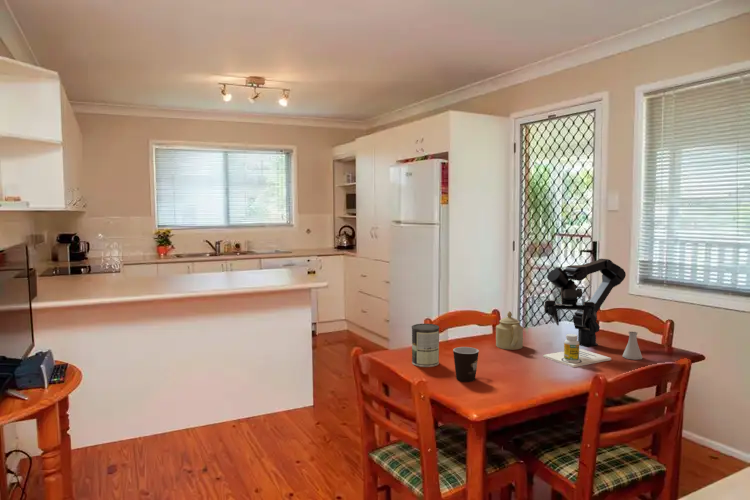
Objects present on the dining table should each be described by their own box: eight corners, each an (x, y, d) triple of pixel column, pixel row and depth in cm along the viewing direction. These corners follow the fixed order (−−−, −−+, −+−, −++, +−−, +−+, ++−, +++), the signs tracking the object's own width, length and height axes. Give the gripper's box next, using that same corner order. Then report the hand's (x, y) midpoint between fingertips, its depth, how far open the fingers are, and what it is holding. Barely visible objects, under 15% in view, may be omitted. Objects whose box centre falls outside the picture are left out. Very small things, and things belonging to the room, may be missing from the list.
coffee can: (406, 363, 197) (406, 326, 196) (423, 357, 204) (423, 322, 203) (427, 369, 190) (427, 331, 189) (444, 363, 197) (444, 326, 196)
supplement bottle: (573, 357, 200) (574, 332, 199) (582, 361, 194) (582, 336, 194) (560, 358, 199) (561, 333, 198) (569, 362, 193) (569, 337, 193)
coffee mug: (461, 384, 173) (462, 355, 172) (448, 376, 181) (448, 348, 180) (490, 379, 177) (491, 350, 177) (476, 372, 185) (476, 344, 185)
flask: (645, 360, 198) (646, 334, 198) (624, 359, 200) (625, 334, 199) (639, 355, 205) (640, 330, 205) (619, 354, 207) (620, 329, 206)
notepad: (543, 357, 204) (543, 354, 204) (579, 350, 213) (579, 348, 213) (573, 367, 191) (573, 364, 191) (611, 360, 200) (611, 357, 199)
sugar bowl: (535, 350, 214) (535, 314, 213) (514, 353, 209) (515, 316, 208) (510, 341, 227) (510, 307, 226) (490, 345, 222) (490, 310, 221)
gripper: (545, 280, 209) (546, 313, 199) (595, 281, 204) (599, 315, 195) (543, 296, 217) (544, 328, 207) (591, 298, 213) (595, 331, 203)
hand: (570, 325), depth 203 cm, fingers open, 9 cm apart
